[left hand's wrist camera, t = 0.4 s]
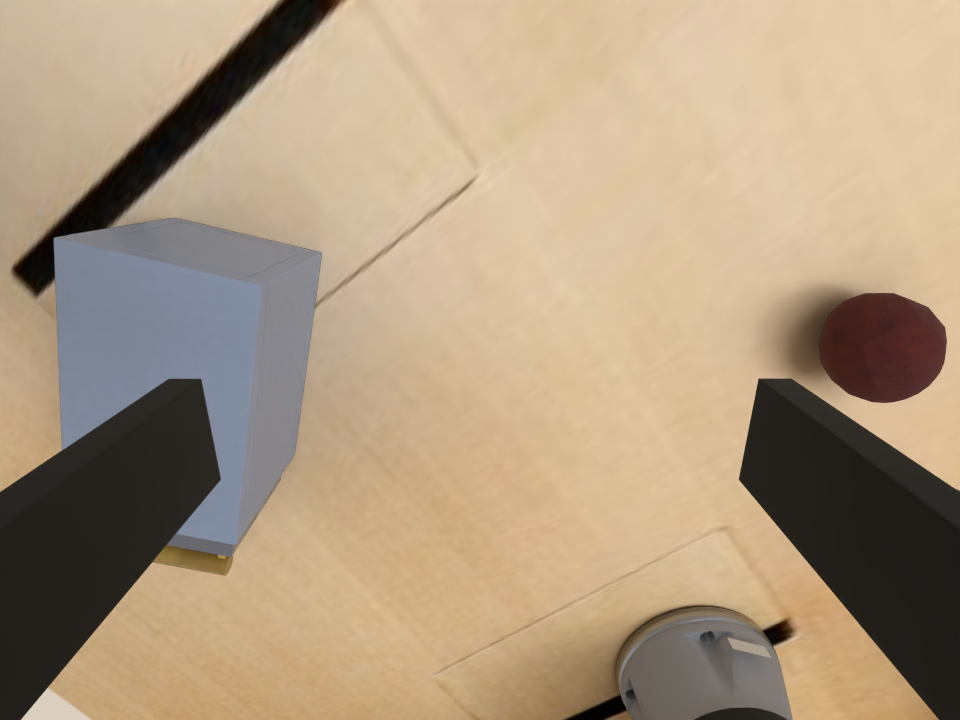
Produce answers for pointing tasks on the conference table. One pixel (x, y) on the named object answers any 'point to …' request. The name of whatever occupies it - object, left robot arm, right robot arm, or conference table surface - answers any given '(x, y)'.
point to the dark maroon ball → (882, 347)
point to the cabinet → (190, 344)
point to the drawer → (202, 551)
